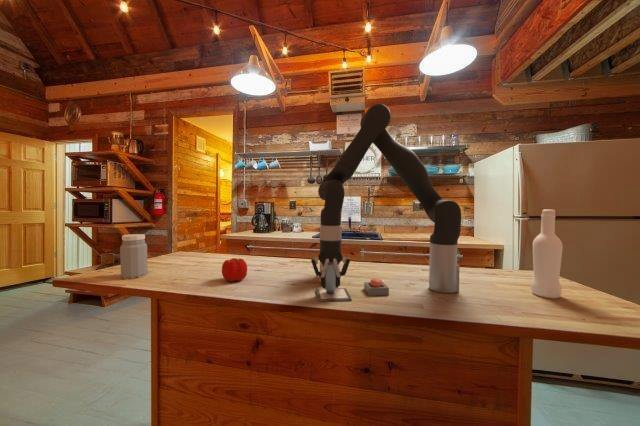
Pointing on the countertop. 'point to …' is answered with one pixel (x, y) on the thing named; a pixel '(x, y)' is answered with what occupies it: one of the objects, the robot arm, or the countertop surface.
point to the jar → (133, 256)
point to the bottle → (547, 258)
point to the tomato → (234, 269)
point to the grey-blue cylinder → (330, 278)
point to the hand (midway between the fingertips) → (330, 287)
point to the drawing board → (333, 295)
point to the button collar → (376, 289)
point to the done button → (376, 283)
